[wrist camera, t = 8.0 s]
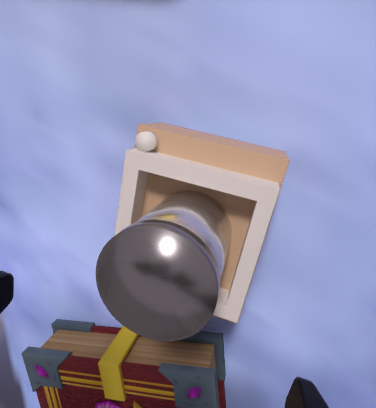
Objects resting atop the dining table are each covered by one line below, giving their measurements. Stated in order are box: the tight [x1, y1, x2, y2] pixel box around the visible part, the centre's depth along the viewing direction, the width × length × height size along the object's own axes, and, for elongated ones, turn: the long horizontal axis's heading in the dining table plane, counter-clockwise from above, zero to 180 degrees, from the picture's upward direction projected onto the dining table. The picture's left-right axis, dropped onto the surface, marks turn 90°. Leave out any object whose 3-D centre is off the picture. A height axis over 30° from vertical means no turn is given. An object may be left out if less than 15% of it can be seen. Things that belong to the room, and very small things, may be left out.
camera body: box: [115, 123, 290, 324], centre depth 18 cm, size 10×8×6 cm
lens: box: [96, 190, 232, 341], centre depth 14 cm, size 5×5×6 cm
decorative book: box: [22, 319, 226, 408], centre depth 24 cm, size 11×16×5 cm
